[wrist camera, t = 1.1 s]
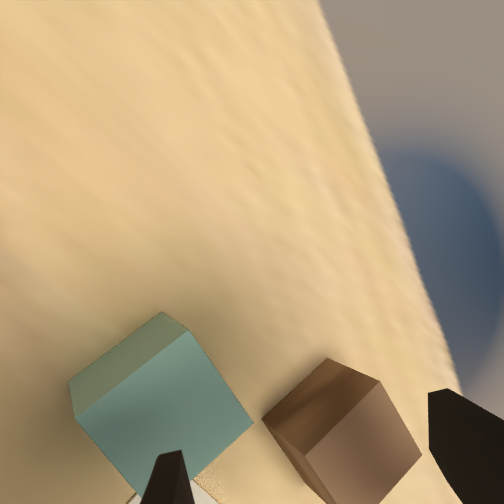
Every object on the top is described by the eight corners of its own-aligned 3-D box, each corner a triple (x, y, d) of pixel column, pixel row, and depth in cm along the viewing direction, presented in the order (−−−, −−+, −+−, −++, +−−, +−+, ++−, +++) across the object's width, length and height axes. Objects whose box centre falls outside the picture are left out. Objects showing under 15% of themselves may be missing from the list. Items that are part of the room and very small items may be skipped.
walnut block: (304, 482, 25) (354, 530, 21) (260, 418, 24) (304, 456, 20) (365, 421, 27) (422, 454, 23) (326, 357, 26) (380, 381, 22)
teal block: (133, 460, 21) (154, 514, 17) (68, 380, 20) (74, 418, 16) (216, 389, 23) (253, 422, 19) (161, 311, 22) (188, 329, 17)
